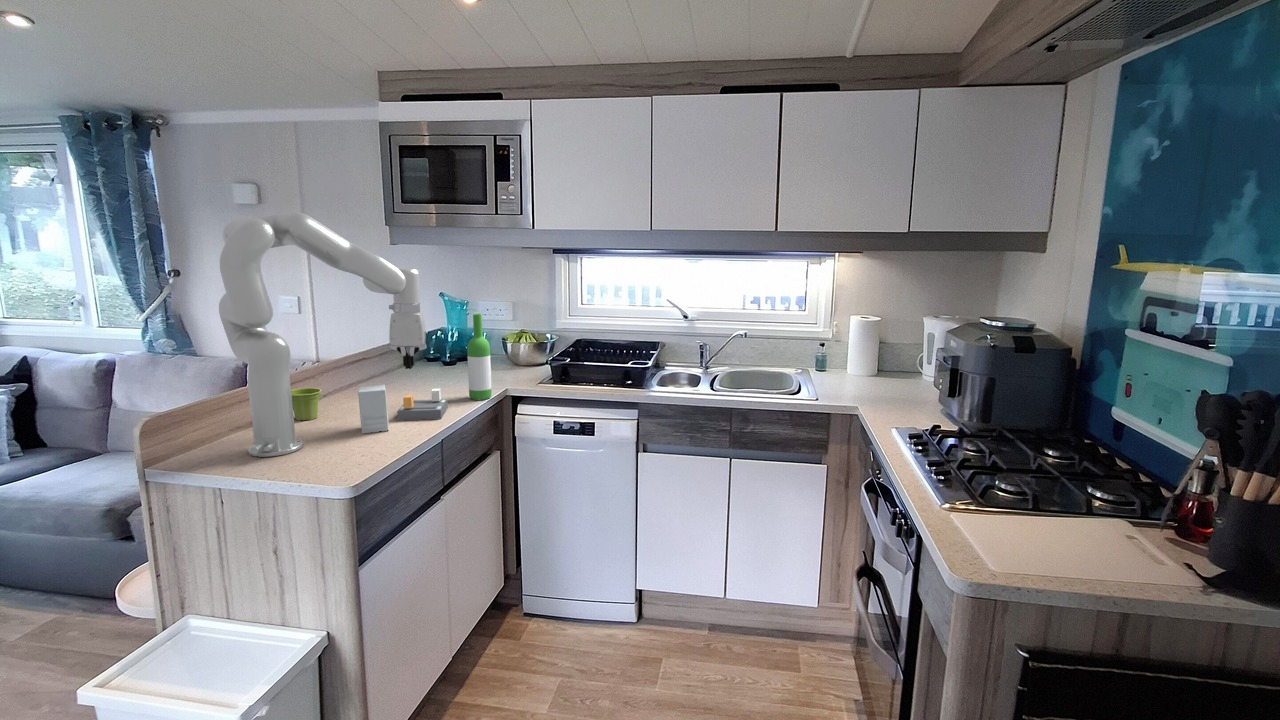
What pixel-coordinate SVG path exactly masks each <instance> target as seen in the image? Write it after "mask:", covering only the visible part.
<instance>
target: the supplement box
mask: <svg viewBox="0 0 1280 720" xmlns="http://www.w3.org/2000/svg"><path fill="white" fill-rule="evenodd" d="M357 395H358V397H357V398H358V407H359V415H360V416H359V417H360V425H361V434H370V433H371V432H372V433H379V431H382V432H388V431H389V416H388V415H389V414H388V401H387V399H388V398H387V390H386V384H378V385H377V384H376V385H364V386H362V385H361V386H359V388H358V391H357ZM387 430H388V431H387Z"/></svg>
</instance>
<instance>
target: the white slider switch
mask: <svg viewBox="0 0 1280 720" xmlns="http://www.w3.org/2000/svg"><path fill="white" fill-rule="evenodd" d="M431 400H432V401H440V400H442V391H441V388H432V389H431Z"/></svg>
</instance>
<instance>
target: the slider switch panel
mask: <svg viewBox="0 0 1280 720" xmlns="http://www.w3.org/2000/svg"><path fill="white" fill-rule="evenodd" d="M413 400H414V406H413V407H412V408H404V404H402V405H401V406H399V408H398V410H397V411H396V412H397V413H396V414H397V421H412V420H411V419H429V420H442V418H443V417H444V415H445V414H446V412H447V410H448V408H449V407H448V398H447V399H441V400H440V401H432V399H413Z"/></svg>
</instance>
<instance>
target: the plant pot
mask: <svg viewBox="0 0 1280 720" xmlns="http://www.w3.org/2000/svg"><path fill="white" fill-rule="evenodd" d="M321 392H322V388H318V387H317V388H316V387H303V388H295V389H291V395H292V406H293V416H294V418H295V419H294V420H297V421H300V420H303V421H305V420H307V421H311V419H312V420H315V419H317V418H318V415H319V402H320V396H321V395H320V394H321Z"/></svg>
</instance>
